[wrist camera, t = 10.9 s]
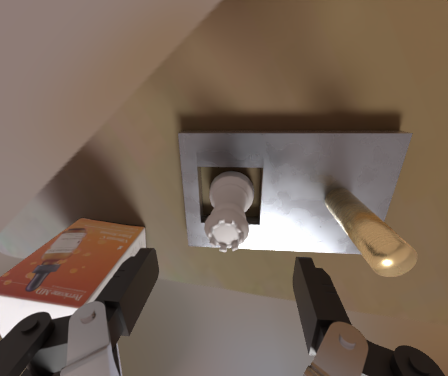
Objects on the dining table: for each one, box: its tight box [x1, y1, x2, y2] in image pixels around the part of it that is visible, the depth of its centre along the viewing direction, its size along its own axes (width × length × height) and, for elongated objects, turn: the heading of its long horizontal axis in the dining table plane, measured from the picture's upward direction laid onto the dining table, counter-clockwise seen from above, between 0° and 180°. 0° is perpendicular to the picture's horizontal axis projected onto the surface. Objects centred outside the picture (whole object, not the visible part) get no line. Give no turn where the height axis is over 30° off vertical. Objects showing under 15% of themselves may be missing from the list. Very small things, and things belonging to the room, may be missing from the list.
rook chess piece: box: [204, 171, 254, 252], centre depth 18 cm, size 4×4×8 cm
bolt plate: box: [178, 131, 417, 277], centre depth 17 cm, size 19×12×10 cm, turn 91°
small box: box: [0, 218, 146, 338], centre depth 21 cm, size 8×6×10 cm
